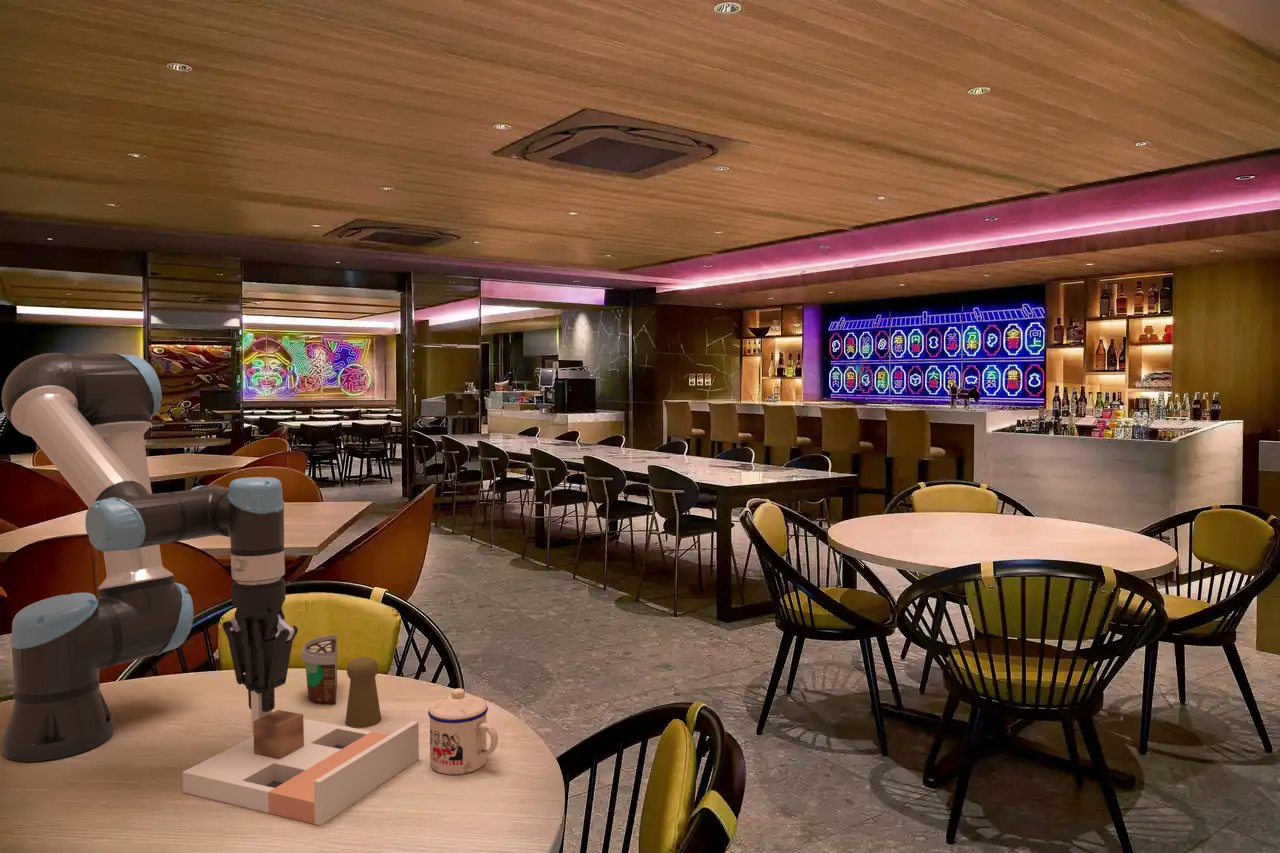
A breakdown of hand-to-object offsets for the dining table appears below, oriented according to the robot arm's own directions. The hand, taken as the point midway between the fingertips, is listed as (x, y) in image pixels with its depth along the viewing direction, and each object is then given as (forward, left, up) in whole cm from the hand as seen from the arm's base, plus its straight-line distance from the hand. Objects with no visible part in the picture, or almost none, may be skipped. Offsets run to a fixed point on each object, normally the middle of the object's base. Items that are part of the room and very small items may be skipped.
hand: (262, 730), depth 135 cm
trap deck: (+8, 0, -6) cm, 10 cm away
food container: (-12, +26, -6) cm, 29 cm away
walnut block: (+3, 0, -3) cm, 4 cm away
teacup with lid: (+29, +12, -6) cm, 32 cm away
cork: (+3, +20, -6) cm, 21 cm away
